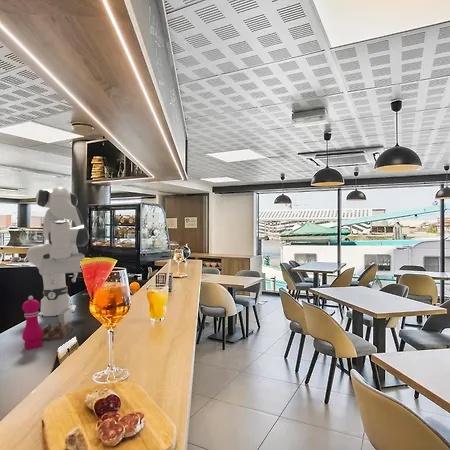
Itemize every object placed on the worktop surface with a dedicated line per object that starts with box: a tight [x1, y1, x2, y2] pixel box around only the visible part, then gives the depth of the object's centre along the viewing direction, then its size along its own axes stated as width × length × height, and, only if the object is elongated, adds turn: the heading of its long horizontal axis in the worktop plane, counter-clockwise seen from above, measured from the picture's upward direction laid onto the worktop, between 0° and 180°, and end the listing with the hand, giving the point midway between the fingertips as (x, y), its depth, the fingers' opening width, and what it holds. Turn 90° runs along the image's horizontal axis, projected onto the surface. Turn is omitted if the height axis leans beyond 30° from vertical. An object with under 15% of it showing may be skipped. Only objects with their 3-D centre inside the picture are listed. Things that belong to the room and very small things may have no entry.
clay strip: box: [57, 308, 73, 328], centre depth 164 cm, size 12×2×7 cm, turn 9°
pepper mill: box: [21, 295, 43, 350], centre depth 135 cm, size 7×7×20 cm
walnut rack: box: [40, 322, 74, 342], centre depth 148 cm, size 14×15×4 cm
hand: (63, 282), depth 164 cm, fingers open, 8 cm apart
